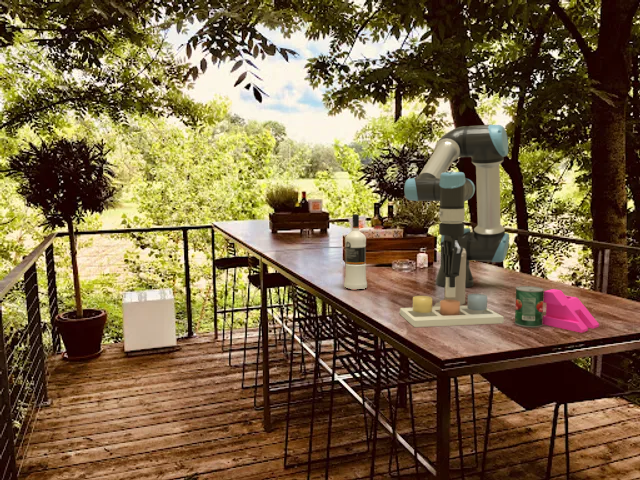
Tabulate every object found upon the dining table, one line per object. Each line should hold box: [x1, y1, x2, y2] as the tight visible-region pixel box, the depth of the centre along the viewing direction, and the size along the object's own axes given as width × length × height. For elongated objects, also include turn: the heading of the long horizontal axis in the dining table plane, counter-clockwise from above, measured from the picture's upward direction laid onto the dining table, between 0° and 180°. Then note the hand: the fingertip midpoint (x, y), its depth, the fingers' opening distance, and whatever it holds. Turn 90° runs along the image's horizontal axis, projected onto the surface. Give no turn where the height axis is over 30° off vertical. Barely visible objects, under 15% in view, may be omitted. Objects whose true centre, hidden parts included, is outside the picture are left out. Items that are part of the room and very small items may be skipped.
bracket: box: [542, 288, 600, 334], centre depth 163 cm, size 12×10×10 cm
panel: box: [399, 304, 505, 328], centre depth 172 cm, size 16×28×2 cm, turn 98°
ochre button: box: [412, 295, 433, 313], centre depth 170 cm, size 6×6×4 cm
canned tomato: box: [514, 285, 545, 328], centre depth 164 cm, size 8×8×11 cm
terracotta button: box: [439, 299, 461, 316], centre depth 172 cm, size 6×6×4 cm
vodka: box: [343, 213, 368, 290], centre depth 218 cm, size 9×9×30 cm
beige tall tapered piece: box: [432, 248, 466, 307], centre depth 191 cm, size 7×14×20 cm, turn 130°
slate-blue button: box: [466, 293, 488, 310], centre depth 173 cm, size 6×6×4 cm
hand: (450, 296), depth 171 cm, fingers closed
